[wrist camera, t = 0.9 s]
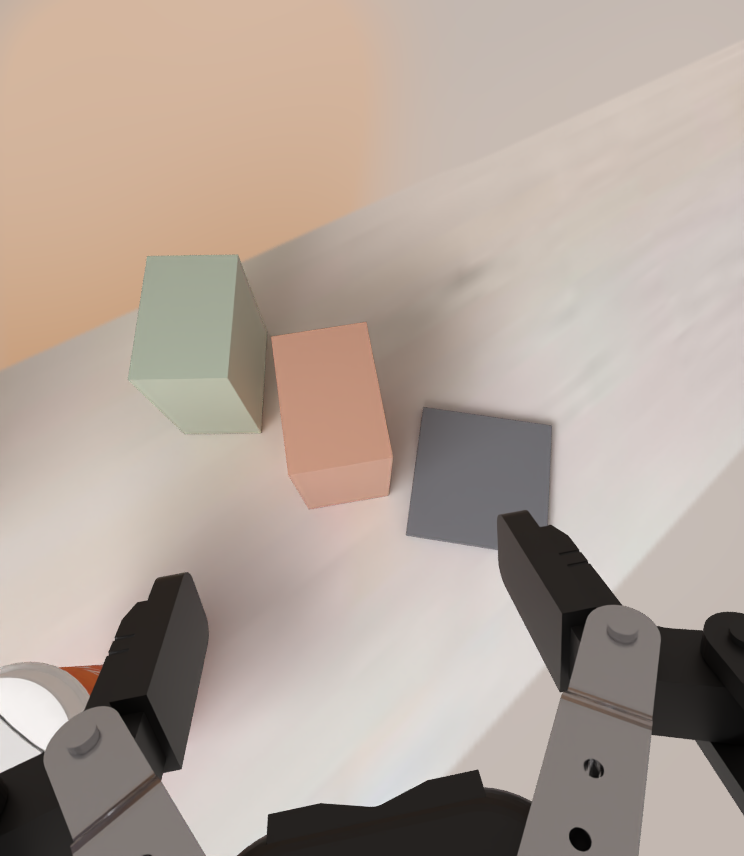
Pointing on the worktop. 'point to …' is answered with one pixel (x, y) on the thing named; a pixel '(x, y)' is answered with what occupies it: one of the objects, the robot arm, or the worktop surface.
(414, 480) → the felt coaster
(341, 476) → the salmon orange block
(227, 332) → the sage green block
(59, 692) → the paper cup
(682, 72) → the worktop surface
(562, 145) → the worktop surface
